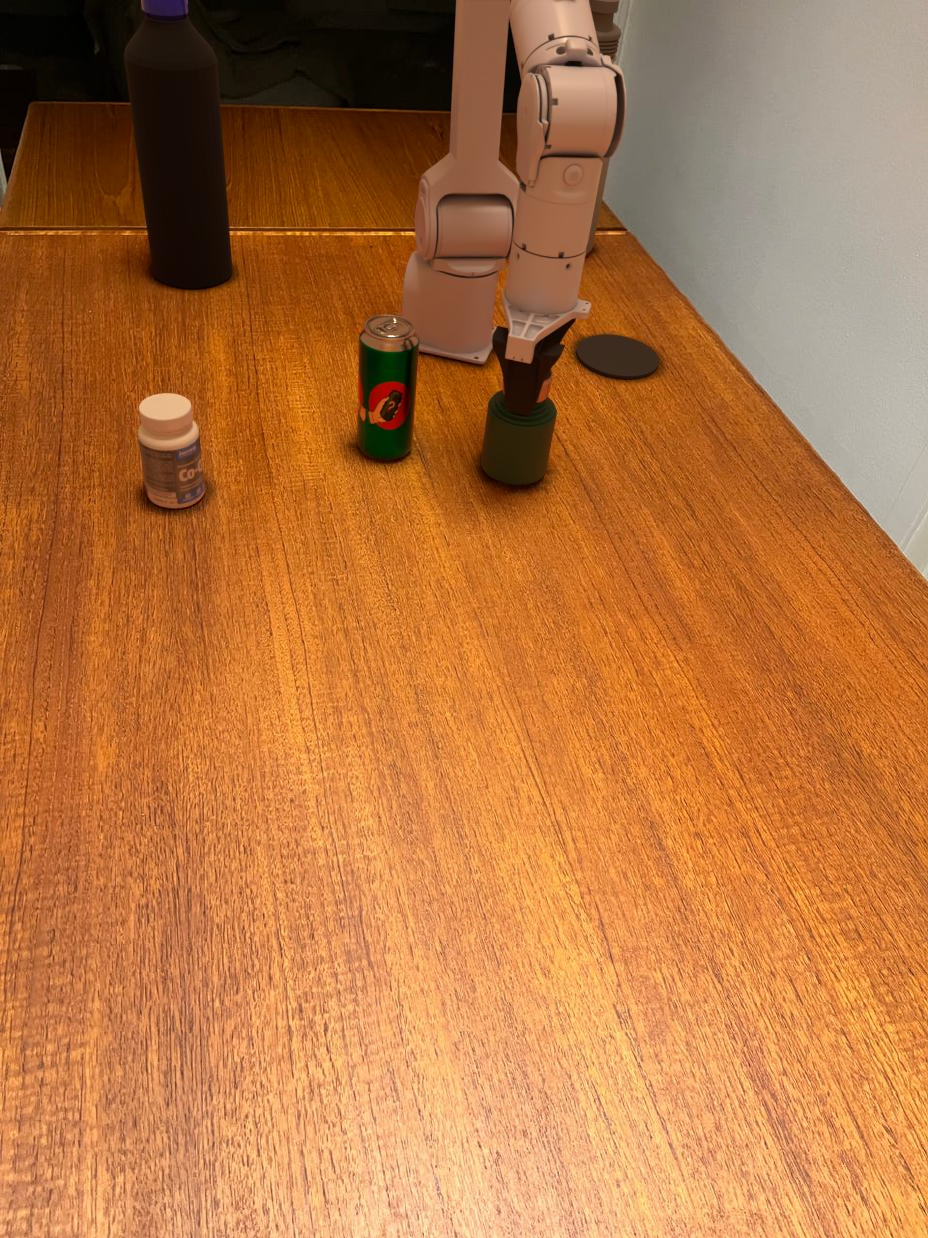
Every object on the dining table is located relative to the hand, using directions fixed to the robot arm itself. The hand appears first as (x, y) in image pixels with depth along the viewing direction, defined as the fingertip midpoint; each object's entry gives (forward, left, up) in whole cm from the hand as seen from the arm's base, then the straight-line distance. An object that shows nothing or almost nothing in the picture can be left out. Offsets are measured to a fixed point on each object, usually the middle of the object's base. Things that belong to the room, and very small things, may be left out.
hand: (524, 398), depth 83 cm
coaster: (+6, +25, -8) cm, 27 cm away
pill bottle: (-26, -14, -8) cm, 31 cm away
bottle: (-43, +24, -8) cm, 50 cm away
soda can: (-12, -1, -8) cm, 14 cm away
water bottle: (-6, +51, -8) cm, 52 cm away
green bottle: (0, 0, -7) cm, 7 cm away
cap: (0, 0, +2) cm, 2 cm away
